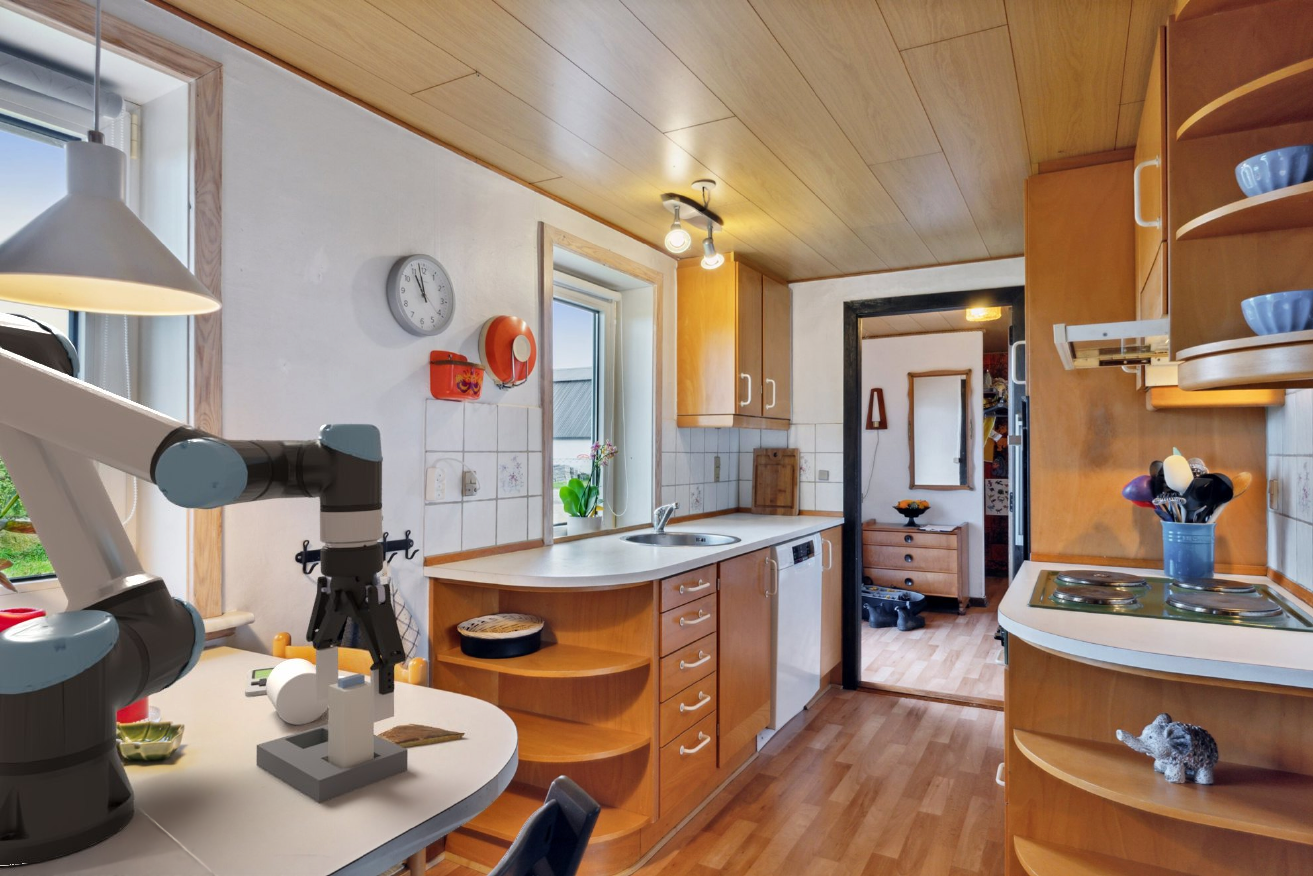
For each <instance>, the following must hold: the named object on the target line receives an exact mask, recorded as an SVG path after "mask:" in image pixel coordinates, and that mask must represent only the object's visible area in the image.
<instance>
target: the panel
mask: <svg viewBox="0 0 1313 876" xmlns="http://www.w3.org/2000/svg"><path fill="white" fill-rule="evenodd" d="M256 766H257V767H258V768H260V769H262V770H263V771H265V772H267V773H268V774H269V775H272V776H273V777H274V778H277V779H278V780H280V781H281V782H283V783H285V784H286V785H287V786H288V785H289V786H290V787H291V788H293V789H294V790H296V791H298V792H299V793H302V794H303V795H305V796H307V797H308V798H310V799H311V800H312V801H315V803H316V802H317V803H318V804H321V803H323V802H326V801H329V800H331V799H335V798H337V797H340V796H342V795H345V794H348V793H350V792H353V791H356V790H359V789H362V788H364V787H366V786H369V785H372V784H375V783H377V782H380V781H382V780H385V779H388V778H391V777H394V776H396V775H399V774H401V773H404V772H407V771H408V749H407V748H406V747H404V748H403V747H401V746H398V745H396V744H394V743H392V742H390V741H387V740H385V739H383V738H381V737H378V736H377V735H376V734H374V759H371V760H368V761H365V762H362V763H359V764H356V765H353V766H351V767H348V768H345V769H340V768H338V767H336V766H334V765H332V764H330V763H329V762H328V723H327V724H324V725H320V726H317V727H313V728H310V729H307V730H303V731H300V732H297V733H293V734H290V735H285V736H283V737H279V738H276V739H273V740H269V741H265V742H262V743H259V744H256Z"/></svg>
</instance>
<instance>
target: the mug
mask: <svg viewBox="0 0 1313 876" xmlns="http://www.w3.org/2000/svg"><path fill="white" fill-rule="evenodd" d="M344 677H345V676H342V675H338V679H340V678H344ZM266 692H267V694H266V695H267V697H268V700H270V702H271V704H272V706H273V707H274V709H275V711H276V712H277V714H278V716H279V717H280V719H282V720H283V721H285V723H287V724H290V725H295V726H296V725H297V726H302V725H307V724H310V723H313V722H315V721H316V720H318V719H319V718H320V717H321V716H323V714H324V713H325V712H326V711H327V709H329V698H325V699H322V700H318V699H316V665H314V663H312V662H310V661H309V660H306V659H304V658H290V659H287V660H284V661H283V662H281V663H279V664H278V665H276V667H275V668H274V669H273V671H272V672H271V673H270V675H269V677H268V679H267V683H266Z"/></svg>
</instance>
